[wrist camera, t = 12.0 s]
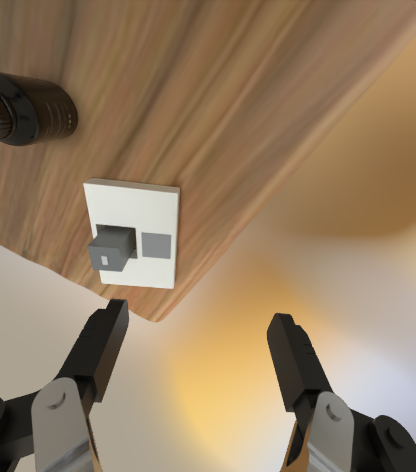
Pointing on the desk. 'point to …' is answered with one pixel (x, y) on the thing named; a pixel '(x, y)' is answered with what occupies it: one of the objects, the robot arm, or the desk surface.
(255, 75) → the desk surface
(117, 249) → the charger
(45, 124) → the supplement bottle
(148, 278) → the outlet plate
